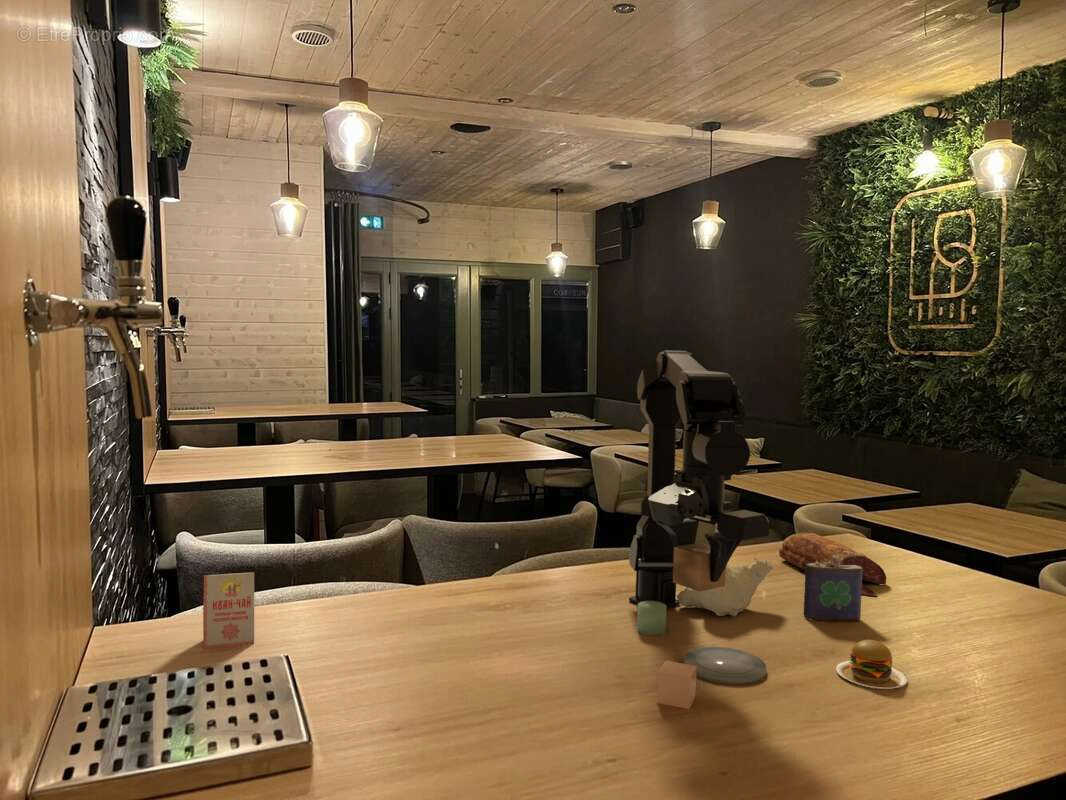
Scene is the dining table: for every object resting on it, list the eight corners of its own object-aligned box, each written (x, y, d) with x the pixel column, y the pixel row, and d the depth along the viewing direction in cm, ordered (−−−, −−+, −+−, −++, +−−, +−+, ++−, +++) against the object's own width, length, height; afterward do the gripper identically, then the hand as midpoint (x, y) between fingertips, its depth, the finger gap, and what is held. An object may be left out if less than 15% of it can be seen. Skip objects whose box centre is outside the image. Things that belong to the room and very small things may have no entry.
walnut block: (672, 582, 110) (674, 546, 110) (697, 577, 113) (699, 542, 113) (699, 591, 106) (701, 554, 106) (725, 586, 109) (726, 550, 109)
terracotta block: (656, 703, 98) (658, 672, 98) (664, 690, 102) (665, 660, 102) (689, 709, 97) (690, 678, 97) (695, 696, 101) (696, 666, 100)
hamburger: (867, 706, 100) (869, 664, 100) (805, 669, 111) (806, 631, 111) (940, 694, 104) (942, 654, 104) (873, 659, 115) (875, 622, 115)
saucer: (667, 663, 111) (667, 656, 111) (719, 646, 117) (719, 640, 117) (730, 691, 102) (731, 684, 102) (782, 671, 109) (782, 665, 109)
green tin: (631, 629, 124) (632, 604, 124) (651, 623, 127) (651, 599, 126) (651, 637, 120) (652, 611, 120) (671, 631, 123) (672, 606, 123)
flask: (857, 617, 132) (860, 553, 131) (863, 623, 129) (867, 558, 128) (801, 615, 132) (804, 552, 132) (806, 621, 129) (809, 556, 129)
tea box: (205, 639, 116) (205, 572, 115) (254, 635, 118) (254, 569, 117) (203, 648, 112) (203, 579, 111) (254, 644, 114) (253, 576, 114)
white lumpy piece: (683, 634, 128) (760, 587, 122) (663, 593, 132) (736, 546, 126) (721, 638, 139) (793, 595, 134) (702, 600, 143) (771, 557, 138)
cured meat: (824, 600, 141) (826, 562, 141) (758, 562, 166) (760, 530, 165) (914, 599, 145) (917, 562, 144) (837, 561, 169) (839, 530, 169)
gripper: (614, 459, 111) (611, 568, 112) (716, 478, 96) (711, 604, 97) (670, 455, 118) (667, 558, 119) (774, 472, 103) (769, 590, 104)
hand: (699, 576), depth 109 cm, fingers closed on walnut block, 5 cm apart
